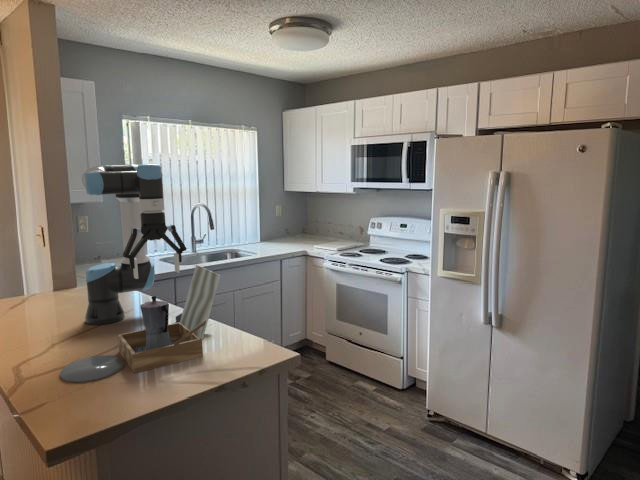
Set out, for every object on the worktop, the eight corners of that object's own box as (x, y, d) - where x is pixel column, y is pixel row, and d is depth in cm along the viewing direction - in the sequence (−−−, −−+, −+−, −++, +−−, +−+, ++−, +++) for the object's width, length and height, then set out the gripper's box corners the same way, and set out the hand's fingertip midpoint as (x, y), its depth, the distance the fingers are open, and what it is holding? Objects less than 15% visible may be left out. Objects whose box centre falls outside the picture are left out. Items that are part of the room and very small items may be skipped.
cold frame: (119, 351, 161) (112, 276, 157) (201, 332, 178) (197, 264, 174) (134, 373, 143) (127, 289, 139) (224, 350, 160) (220, 274, 156)
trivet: (57, 367, 149) (57, 364, 149) (117, 353, 159) (117, 351, 159) (64, 388, 134) (63, 384, 134) (129, 371, 144) (129, 368, 144)
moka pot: (160, 344, 167) (156, 290, 164) (185, 354, 157) (181, 297, 154) (135, 352, 159) (130, 296, 156) (160, 363, 150) (155, 304, 147)
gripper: (114, 215, 142) (120, 282, 145) (193, 209, 156) (197, 271, 159) (109, 213, 148) (115, 278, 151) (185, 208, 162) (189, 268, 165)
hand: (157, 275), depth 155 cm, fingers open, 13 cm apart
